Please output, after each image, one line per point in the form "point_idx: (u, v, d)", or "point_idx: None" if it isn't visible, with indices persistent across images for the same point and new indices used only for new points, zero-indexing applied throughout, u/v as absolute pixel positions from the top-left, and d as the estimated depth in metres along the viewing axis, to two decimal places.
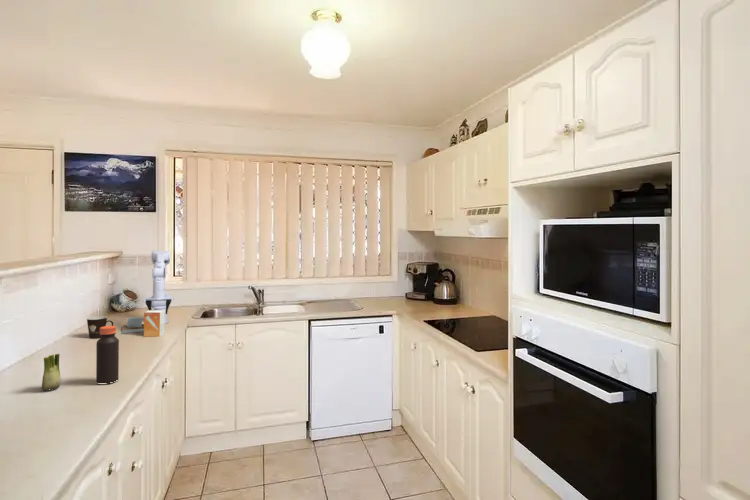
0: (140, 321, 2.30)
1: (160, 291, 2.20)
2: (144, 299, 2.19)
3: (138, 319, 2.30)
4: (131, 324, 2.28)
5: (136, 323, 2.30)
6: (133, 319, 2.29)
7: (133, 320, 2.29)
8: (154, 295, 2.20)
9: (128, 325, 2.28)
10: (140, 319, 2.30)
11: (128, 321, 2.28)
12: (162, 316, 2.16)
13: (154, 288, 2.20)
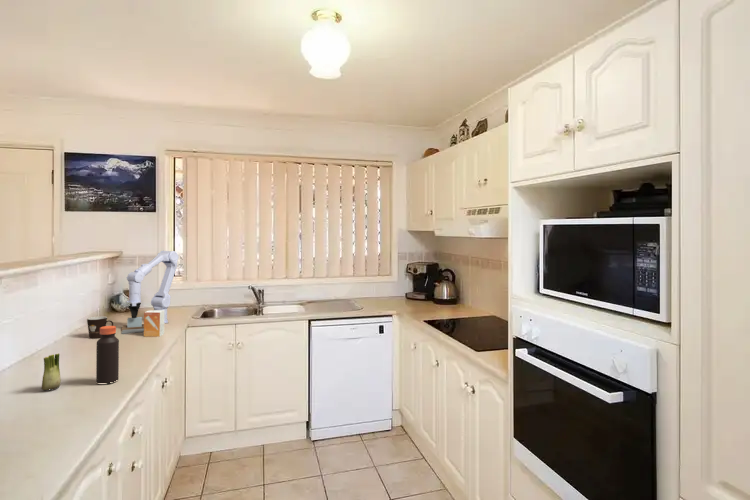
0: (140, 321, 2.30)
1: (129, 294, 2.28)
2: None
3: (138, 319, 2.30)
4: (131, 324, 2.28)
5: (136, 323, 2.30)
6: (133, 319, 2.29)
7: (133, 320, 2.29)
8: None
9: (128, 325, 2.28)
10: (140, 319, 2.30)
11: (128, 321, 2.28)
12: (162, 316, 2.16)
13: None
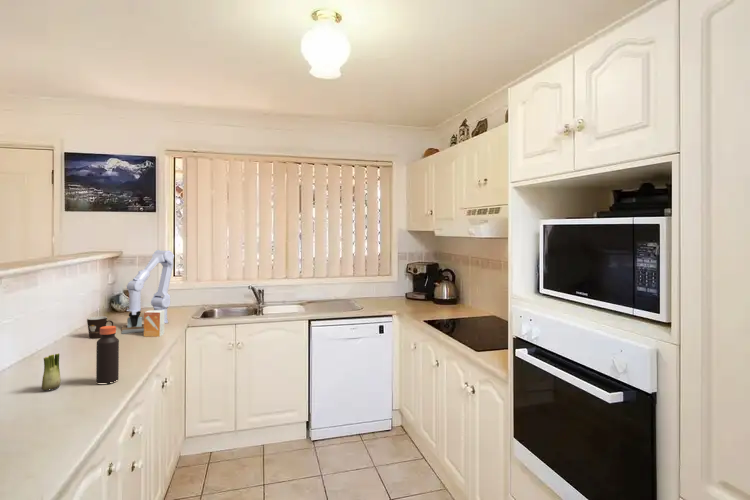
0: (140, 321, 2.30)
1: (129, 303, 2.28)
2: None
3: (138, 319, 2.30)
4: (131, 324, 2.28)
5: None
6: None
7: None
8: None
9: (128, 325, 2.28)
10: (140, 319, 2.30)
11: (128, 321, 2.28)
12: (162, 316, 2.16)
13: None
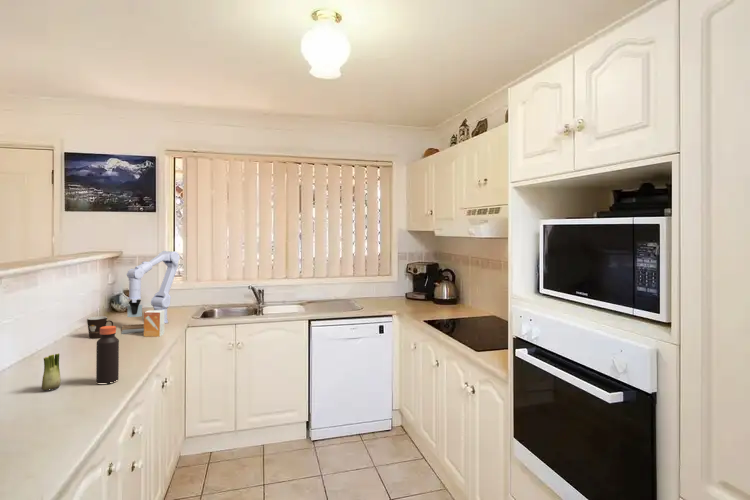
0: (140, 309, 2.30)
1: (129, 291, 2.28)
2: None
3: (138, 307, 2.30)
4: (131, 312, 2.28)
5: None
6: None
7: None
8: None
9: (128, 313, 2.28)
10: (140, 307, 2.30)
11: (128, 309, 2.28)
12: (162, 316, 2.16)
13: None
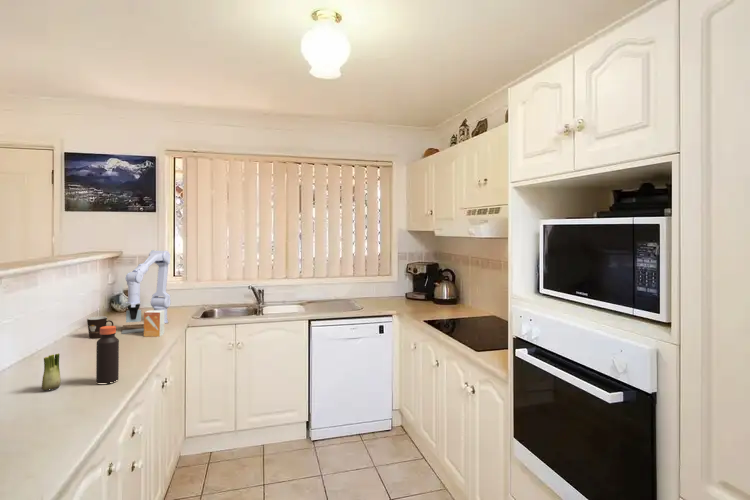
0: (139, 314, 2.22)
1: (128, 295, 2.20)
2: None
3: (137, 312, 2.22)
4: (130, 317, 2.20)
5: None
6: None
7: None
8: None
9: (127, 318, 2.20)
10: (139, 312, 2.22)
11: (127, 314, 2.20)
12: (162, 316, 2.16)
13: (128, 292, 2.21)
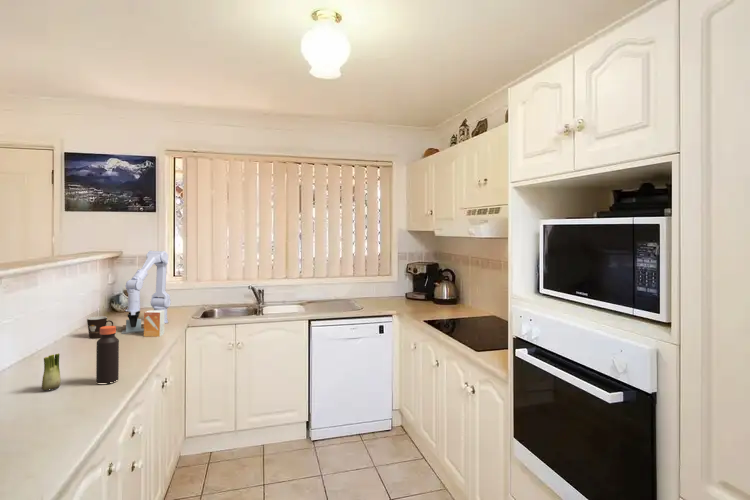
0: (139, 323, 2.23)
1: (128, 303, 2.20)
2: None
3: (137, 321, 2.22)
4: (130, 326, 2.20)
5: None
6: None
7: None
8: None
9: (127, 327, 2.20)
10: (139, 321, 2.22)
11: (127, 324, 2.20)
12: (162, 316, 2.16)
13: (128, 300, 2.21)
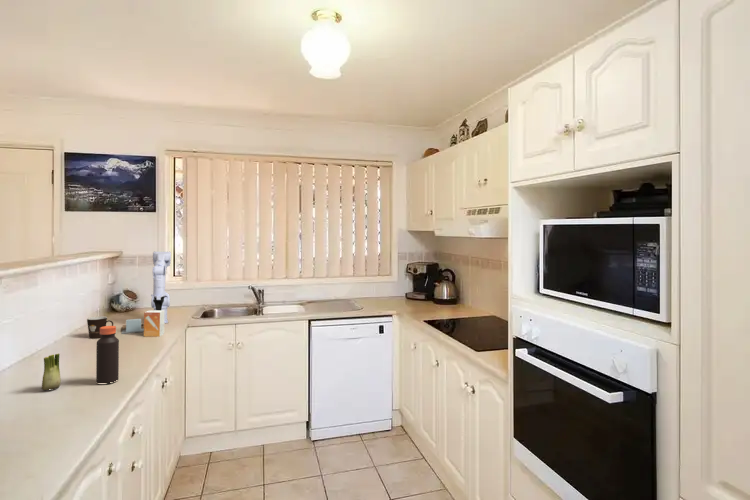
0: (139, 323, 2.23)
1: (153, 288, 2.29)
2: None
3: (137, 321, 2.22)
4: (130, 326, 2.20)
5: (135, 325, 2.22)
6: (132, 321, 2.21)
7: (132, 322, 2.21)
8: None
9: (127, 327, 2.20)
10: (139, 321, 2.22)
11: (127, 324, 2.20)
12: (162, 316, 2.16)
13: (154, 285, 2.29)
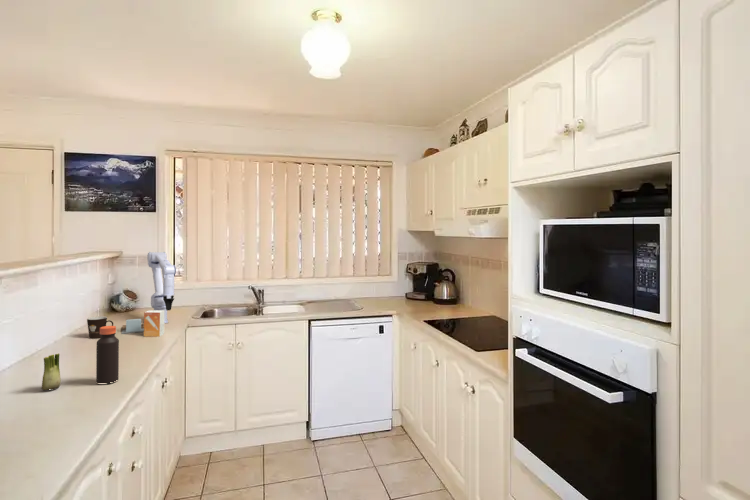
0: (139, 323, 2.23)
1: (163, 287, 2.33)
2: None
3: (137, 321, 2.22)
4: (130, 326, 2.20)
5: (135, 325, 2.22)
6: (132, 321, 2.21)
7: (132, 322, 2.21)
8: None
9: (127, 327, 2.20)
10: (139, 321, 2.22)
11: (127, 324, 2.20)
12: (162, 316, 2.16)
13: (165, 285, 2.32)
